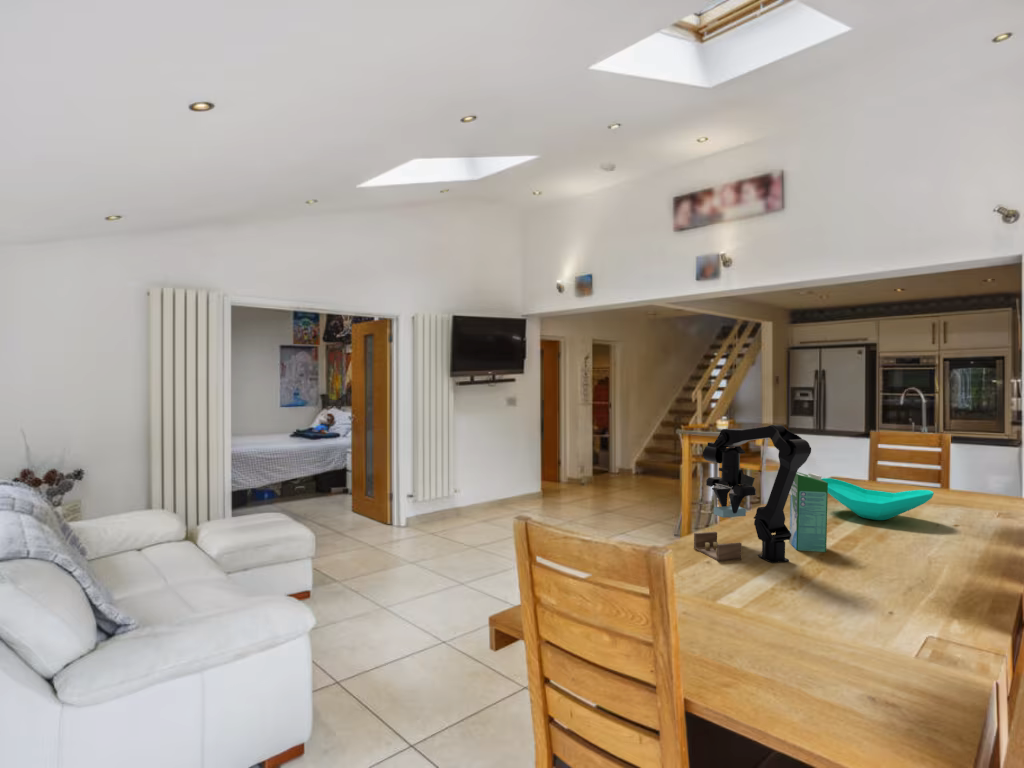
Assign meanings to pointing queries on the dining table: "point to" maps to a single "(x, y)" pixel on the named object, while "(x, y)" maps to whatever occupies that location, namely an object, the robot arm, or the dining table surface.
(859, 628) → the dining table surface
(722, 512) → the block
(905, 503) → the table top decor
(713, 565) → the dining table surface
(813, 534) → the milk carton
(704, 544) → the cradle
